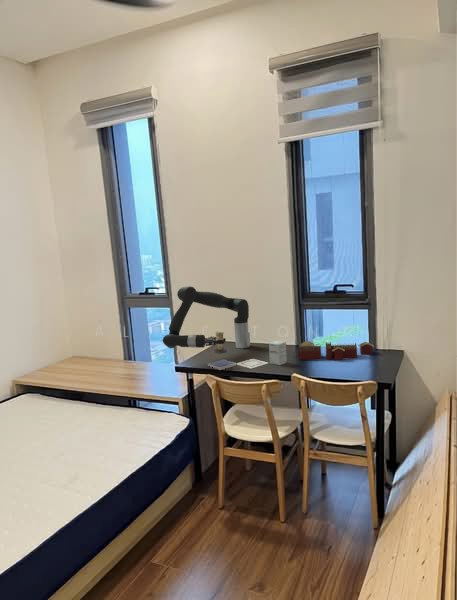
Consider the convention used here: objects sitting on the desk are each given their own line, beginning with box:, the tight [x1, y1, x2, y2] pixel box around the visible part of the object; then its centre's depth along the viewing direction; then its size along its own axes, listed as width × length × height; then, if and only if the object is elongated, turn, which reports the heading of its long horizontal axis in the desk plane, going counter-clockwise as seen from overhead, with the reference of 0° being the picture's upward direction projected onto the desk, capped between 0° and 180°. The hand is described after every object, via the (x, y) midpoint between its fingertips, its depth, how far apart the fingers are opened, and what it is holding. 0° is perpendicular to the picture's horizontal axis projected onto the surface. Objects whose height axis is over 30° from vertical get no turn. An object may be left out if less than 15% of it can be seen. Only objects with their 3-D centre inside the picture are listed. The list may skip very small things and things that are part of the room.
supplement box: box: [268, 340, 287, 366], centre depth 264 cm, size 7×7×13 cm
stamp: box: [214, 331, 227, 355], centre depth 265 cm, size 5×5×12 cm
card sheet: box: [236, 358, 269, 370], centre depth 267 cm, size 14×14×1 cm
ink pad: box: [207, 359, 237, 371], centre depth 267 cm, size 12×12×2 cm
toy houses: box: [297, 340, 375, 362], centre depth 272 cm, size 45×20×10 cm, turn 81°
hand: (224, 341), depth 264 cm, fingers closed on stamp, 4 cm apart
